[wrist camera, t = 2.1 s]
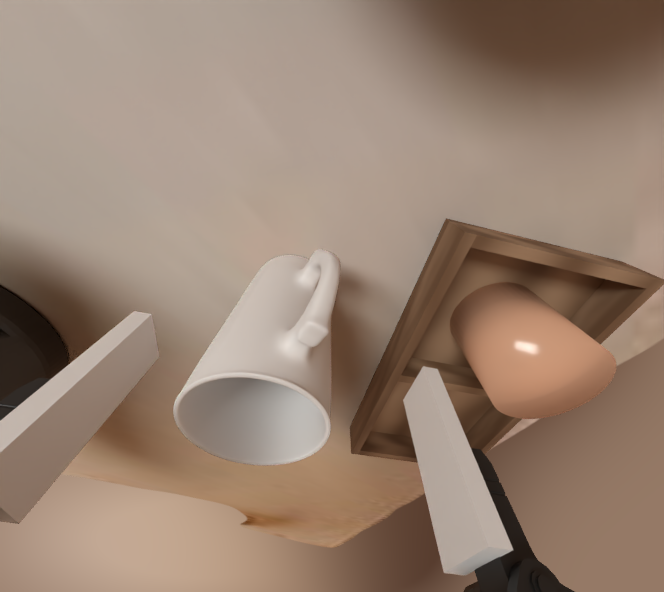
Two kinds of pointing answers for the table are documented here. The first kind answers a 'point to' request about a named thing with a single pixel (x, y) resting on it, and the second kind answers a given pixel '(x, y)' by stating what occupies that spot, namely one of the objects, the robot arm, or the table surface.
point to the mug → (268, 368)
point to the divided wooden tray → (444, 353)
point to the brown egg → (528, 352)
